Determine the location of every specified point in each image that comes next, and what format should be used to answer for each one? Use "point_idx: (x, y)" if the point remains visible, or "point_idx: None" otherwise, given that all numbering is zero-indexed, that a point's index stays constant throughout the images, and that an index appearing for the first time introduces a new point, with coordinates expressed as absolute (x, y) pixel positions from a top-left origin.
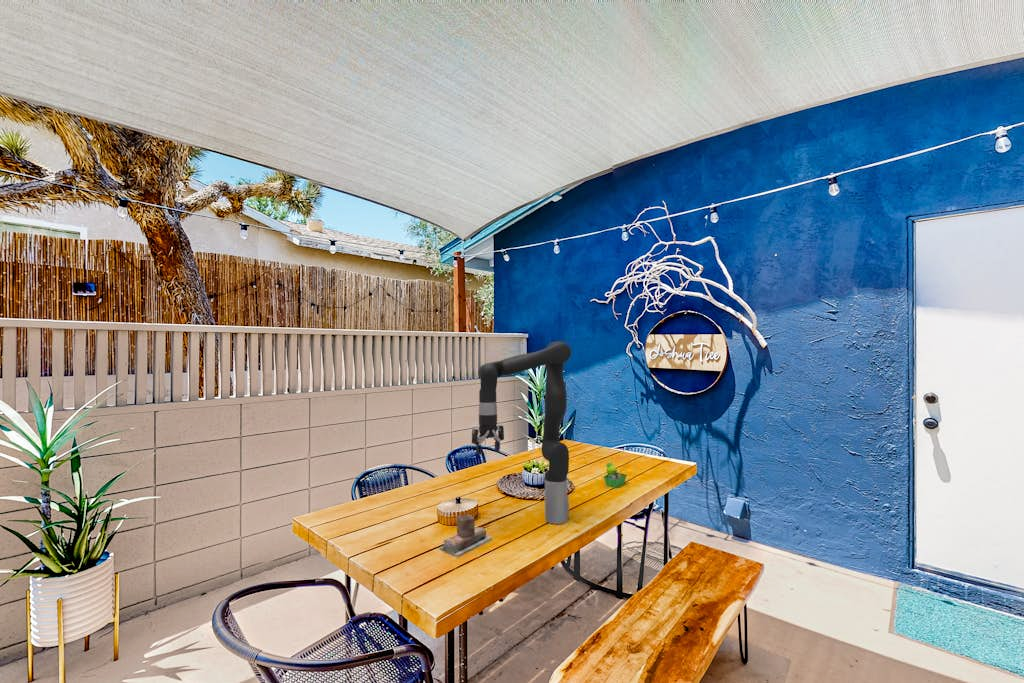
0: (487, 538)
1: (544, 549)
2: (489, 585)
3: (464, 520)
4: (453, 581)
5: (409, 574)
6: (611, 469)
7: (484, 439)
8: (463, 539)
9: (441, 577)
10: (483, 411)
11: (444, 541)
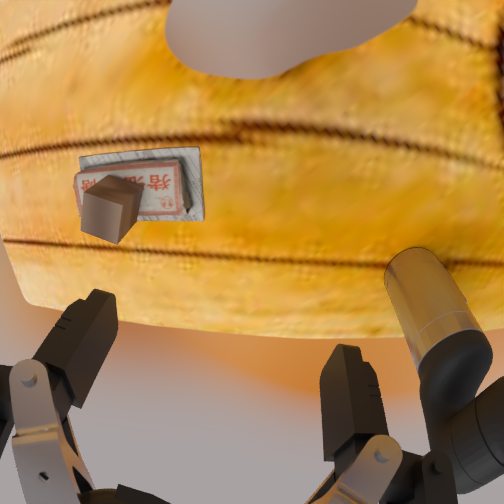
0: (190, 213)
1: (255, 328)
2: None
3: (88, 232)
4: (59, 271)
5: (14, 202)
6: None
7: (91, 487)
8: None
9: (48, 249)
10: None
11: (74, 178)
